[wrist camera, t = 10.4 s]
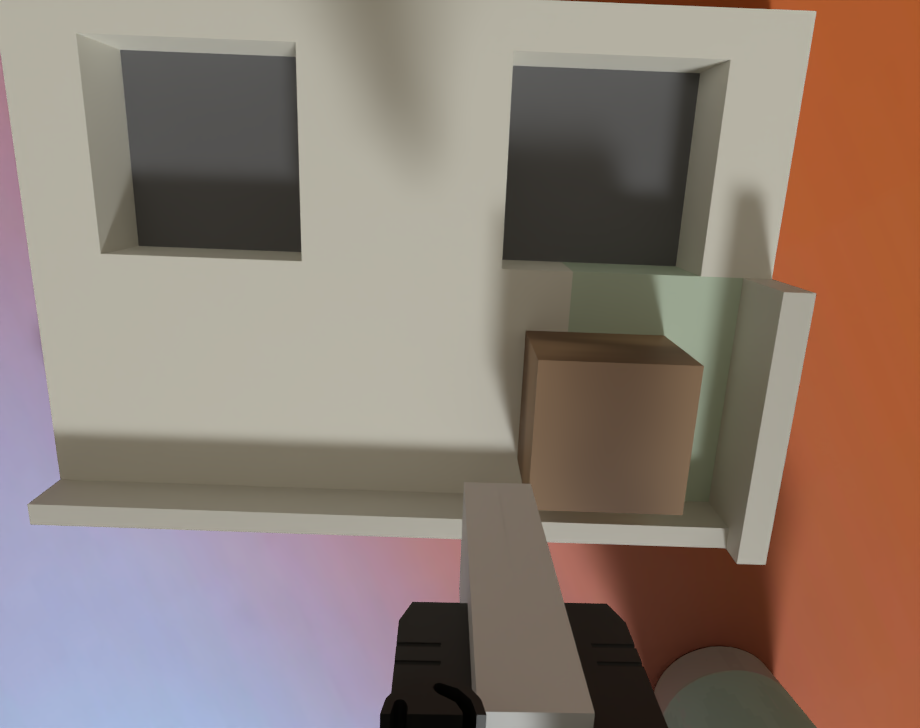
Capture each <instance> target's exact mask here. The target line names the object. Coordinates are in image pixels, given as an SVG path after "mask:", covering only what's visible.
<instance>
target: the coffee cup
mask: <svg viewBox="0 0 920 728" xmlns="http://www.w3.org/2000/svg"><path fill="white" fill-rule="evenodd" d="M654 694H655V696H656V699H657V701H658V704H659V706H660V709H661V711H662V714H663V716H664V718H665V721H666V723H667V726H668V728H817V727H816V726H815V725H814V724H813V723H812V721H811V720H810V719H809V718H808V717H807V715H806V714H805V713H804V712H803V710H802V709H801V708H800V707H799V706H798V704H797V703H796V702H795V701H794V699H793V698H792V697H791V696H790V695H789V693H788V692H787V691H786V690H785V689H784V688H783V686H782V685H781V684H780V683H779V682H778V680H777V679H776V678H775V677H774V676H773V674H772V673H771V672H770V671H769V670H768V668H767V667H766V666H765V665H764V664H763V663H762V662H761V661H760V660H759V659H758V658H757V657H755V656H754V655H752V654H750V653H748V652H746V651H743V650H740V649H737V648H732V647H723V646H716V647H707V648H703V649H699V650H695V651H693V652H690V653H688V654H686V655H684V656H682V657H681V658H679V659H677V660H676V661H675V662H674V663H672V664H671V665H670V666H669V667H668V668H667V669H666V670H665V671H664V673H663V674H662V676H661V677H660V679H659V680H658V682H657V685H656V687H655V691H654Z"/></svg>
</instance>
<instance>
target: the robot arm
mask: <svg viewBox="0 0 920 728" xmlns="http://www.w3.org/2000/svg"><path fill="white" fill-rule="evenodd" d="M459 590H460V603H438V602H412V604H411V605H410V606H409V608H408V609H407V610H406V612H405V613H404V614H403V616H402V617H401V618H400V620H399V626H398V635H397V646H396V654H395V665H394V673H393V682H392V692H391V694H390V695H389V696H388V697H387V698H386V700H385V702H384V705H383V708H382V710H381V713H380V728H668V726H667V723H666V721H665V718H664V716H663V714H662V711H661V709H660V706H659V704H658V701H657V699H656V696H655V694H654V691H653V689H652V686H651V684H650V682H649V679H648V677H647V674H646V672H645V669H644V667H642V662H641V659H640V657H639V654H638V652H637V650H636V648H634V642H633V640H632V637H631V635H630V632H629V630H628V627H627V625H626V623H625V622H624V621H623V620H622V619H621V618H620V617H619V616H618V615H617V614H616V613H615V612H614V611H613V610H612V609H611V608H610V607H609V606H608V605H607V604H590V603H564V601H563V598H562V594H561V590H560V587H559V583H558V580H557V576H556V573H555V569H554V565H553V562H552V558H551V555H550V551H549V547H548V544H547V540H546V537H545V533H544V530H543V526H542V522H541V519H540V515H539V512H538V508H537V505H536V501H535V497H534V494H533V490H532V487H531V484H519V483H479V482H464V493H463V517H462V540H461V564H460V587H459Z"/></svg>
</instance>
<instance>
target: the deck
mask: <svg viewBox="0 0 920 728" xmlns="http://www.w3.org/2000/svg"><path fill="white" fill-rule="evenodd" d="M815 17H816V11H800V10H776V9H751V8H727V7H703V6H679V5H654V4H630V3H606V2H582V1H557V0H0V52H1V59H2V66H3V74H4V81H5V88H6V95H7V102H8V109H9V116H10V123H11V130H12V137H13V145H14V152H15V159H16V166H17V173H18V180H19V187H20V194H21V201H22V209H23V216H24V223H25V230H26V237H27V244H28V251H29V258H30V265H31V272H32V280H33V287H34V294H35V301H36V308H37V315H38V322H39V329H40V336H41V344H42V351H43V358H44V365H45V372H46V379H47V386H48V393H49V400H50V407H51V415H52V422H53V429H54V436H55V443H56V450H57V457H58V464H59V471H60V479H61V480H59V481H58V482H57V483H55V484H54V485H53V486H51V487H50V488H49V489H47V490H46V491H45V492H43V493H42V494H41V495H39V496H38V497H37V498H35V499H34V500H33V501H31V502H30V503H29V504H27V505H28V511H29V518H30V524H31V525H60V526H89V527H119V528H148V529H177V530H207V531H236V532H265V533H294V534H324V535H353V536H382V537H412V538H441V539H462V517H463V493H464V482H479V483H519V484H522V480H521V475H520V470H519V465H518V460H517V455H518V440H519V424H520V409H521V394H522V379H523V364H524V349H525V334H526V330H527V331H555V332H582V333H609V334H636V335H664V336H666V337H667V338H668V339H670V340H671V341H672V342H673V343H675V344H676V345H677V346H679V347H680V348H681V349H683V350H684V351H685V352H686V353H688V354H689V355H690V356H692V357H693V358H694V359H695V360H697V361H698V362H699V363H701V364H702V365H703V366H704V370H703V377H702V384H701V391H700V397H699V404H698V411H697V418H696V425H695V432H694V439H693V446H692V453H691V460H690V467H689V474H688V481H687V488H686V495H685V501H684V508H683V515H661V514H632V513H603V512H574V511H545V510H538V512H539V515H540V519H541V522H542V526H543V530H544V533H545V537H546V540H547V542H558V543H587V544H617V545H646V546H675V547H704V548H726V550H727V551H728V552H729V554H730V555H731V556H732V558H733V559H734V561H735V562H736V563H737V564H755V565H766V560H767V554H768V549H769V543H770V538H771V533H772V527H773V522H774V517H775V511H776V506H777V501H778V495H779V490H780V485H781V479H782V474H783V469H784V463H785V458H786V453H787V447H788V442H789V437H790V431H791V426H792V421H793V415H794V410H795V404H796V399H797V394H798V388H799V383H800V378H801V372H802V367H803V362H804V356H805V351H806V346H807V340H808V335H809V330H810V324H811V319H812V314H813V308H814V303H815V298H816V293H813V292H810V291H807V290H804V289H801V288H798V287H795V286H791V285H788V284H785V283H782V282H779V281H776V280H773V279H772V274H773V268H774V262H775V256H776V250H777V244H778V238H779V232H780V226H781V220H782V215H783V209H784V203H785V197H786V191H787V185H788V179H789V173H790V167H791V161H792V155H793V149H794V143H795V137H796V131H797V125H798V119H799V113H800V107H801V101H802V95H803V89H804V83H805V77H806V71H807V65H808V59H809V53H810V47H811V41H812V35H813V29H814V23H815Z"/></svg>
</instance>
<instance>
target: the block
mask: <svg viewBox="0 0 920 728" xmlns="http://www.w3.org/2000/svg"><path fill="white" fill-rule="evenodd" d="M703 370H704V366H703V365H702V364H701V363H699V362H698V361H697V360H695V359H694V358H693V357H692V356H690V355H689V354H688V353H686V352H685V351H684V350H683V349H681V348H680V347H679V346H677V345H676V344H675V343H673V342H672V341H671V340H670V339H668V338H667V337H666V336H664V335H636V334H609V333H582V332H555V331H527V330H526V334H525V349H524V364H523V379H522V394H521V409H520V424H519V440H518V455H517V460H518V465H519V470H520V475H521V480H522V484H531V487H532V490H533V494H534V497H535V501H536V505H537V508H538V510H545V511H574V512H603V513H632V514H661V515H683V508H684V501H685V495H686V488H687V481H688V474H689V467H690V460H691V453H692V446H693V439H694V432H695V425H696V418H697V411H698V404H699V397H700V391H701V384H702V377H703Z"/></svg>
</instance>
